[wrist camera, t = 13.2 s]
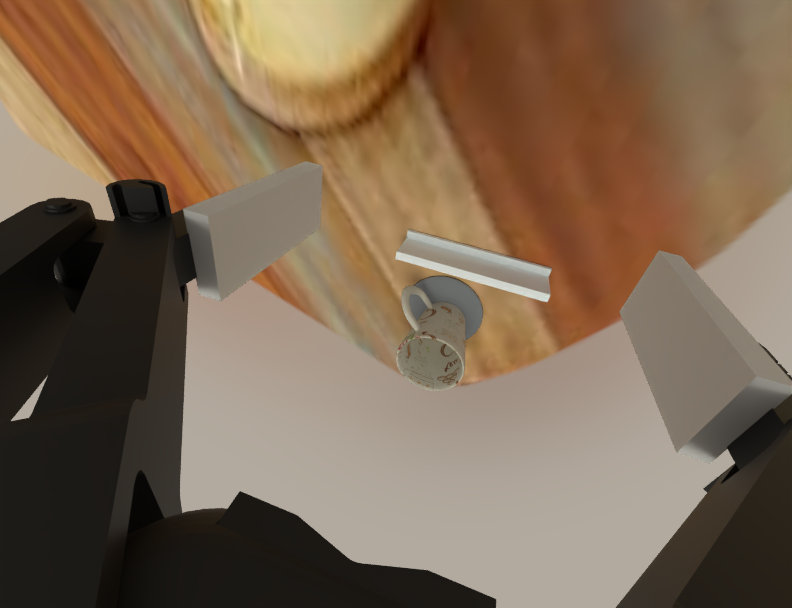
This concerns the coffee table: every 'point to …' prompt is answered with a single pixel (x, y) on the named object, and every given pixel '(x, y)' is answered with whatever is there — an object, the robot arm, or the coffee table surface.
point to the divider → (476, 264)
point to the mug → (432, 344)
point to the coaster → (450, 300)
